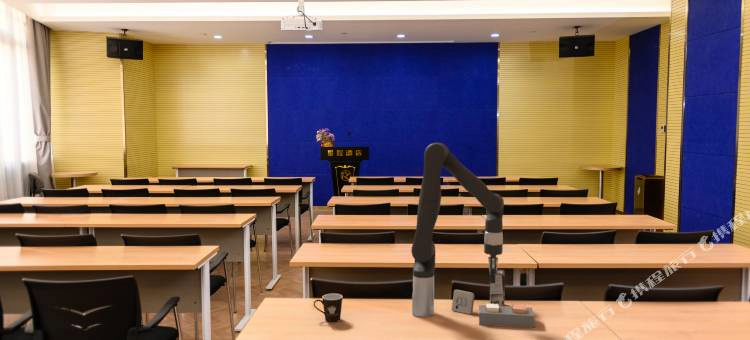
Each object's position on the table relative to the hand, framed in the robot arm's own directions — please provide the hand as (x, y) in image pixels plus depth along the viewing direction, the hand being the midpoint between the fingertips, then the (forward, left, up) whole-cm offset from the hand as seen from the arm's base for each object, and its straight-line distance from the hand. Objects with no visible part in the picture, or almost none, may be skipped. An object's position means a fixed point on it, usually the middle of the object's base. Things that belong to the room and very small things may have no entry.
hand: (492, 282), depth 236 cm
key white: (0, 0, -15) cm, 15 cm away
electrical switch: (-12, +10, -17) cm, 23 cm away
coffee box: (+3, +18, -17) cm, 25 cm away
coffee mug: (-68, -9, -17) cm, 71 cm away
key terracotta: (+11, 0, -15) cm, 19 cm away
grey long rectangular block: (+6, 0, -17) cm, 17 cm away
